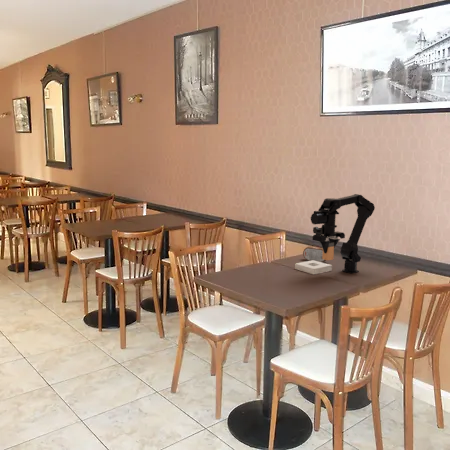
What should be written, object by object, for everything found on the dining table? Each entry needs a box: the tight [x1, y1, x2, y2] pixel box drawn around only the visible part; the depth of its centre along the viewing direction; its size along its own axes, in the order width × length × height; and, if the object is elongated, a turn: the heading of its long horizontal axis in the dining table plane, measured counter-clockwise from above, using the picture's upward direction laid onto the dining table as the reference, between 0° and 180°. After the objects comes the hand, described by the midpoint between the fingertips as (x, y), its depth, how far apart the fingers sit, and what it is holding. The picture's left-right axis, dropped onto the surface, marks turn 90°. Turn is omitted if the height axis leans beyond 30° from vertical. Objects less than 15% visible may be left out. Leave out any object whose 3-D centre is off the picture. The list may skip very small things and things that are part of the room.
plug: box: [322, 241, 335, 261], centre depth 249 cm, size 4×4×9 cm
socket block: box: [294, 260, 333, 275], centre depth 262 cm, size 14×14×3 cm
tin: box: [302, 246, 327, 263], centre depth 280 cm, size 15×3×8 cm, turn 58°
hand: (328, 252), depth 249 cm, fingers closed on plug, 4 cm apart
